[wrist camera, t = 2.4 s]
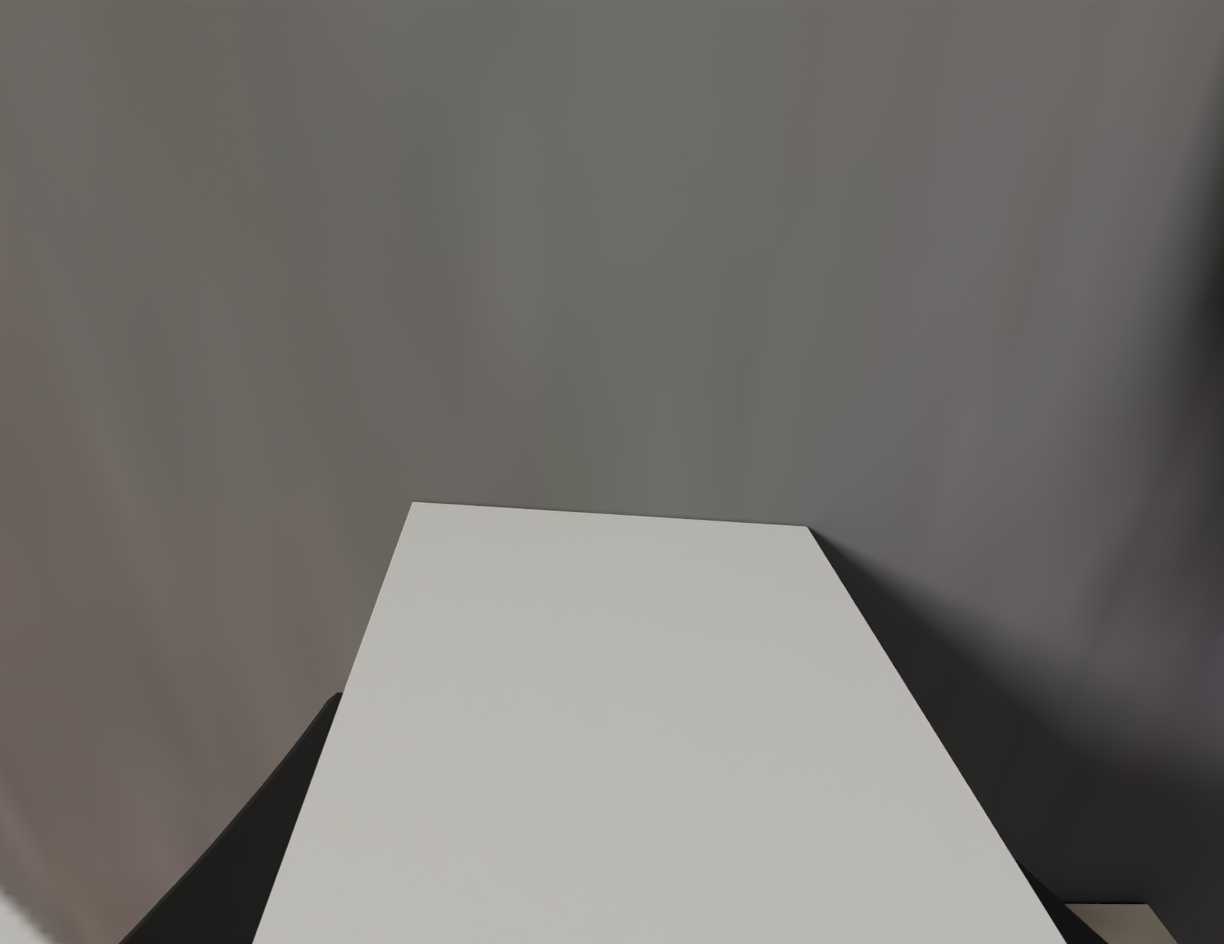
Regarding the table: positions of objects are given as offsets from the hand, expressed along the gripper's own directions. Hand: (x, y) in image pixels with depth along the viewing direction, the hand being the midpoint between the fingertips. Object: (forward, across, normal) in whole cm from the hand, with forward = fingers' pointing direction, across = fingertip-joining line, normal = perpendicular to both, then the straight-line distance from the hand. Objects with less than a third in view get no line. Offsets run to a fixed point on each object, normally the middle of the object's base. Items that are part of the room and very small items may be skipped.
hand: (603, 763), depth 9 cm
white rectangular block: (+2, 0, 0) cm, 2 cm away
